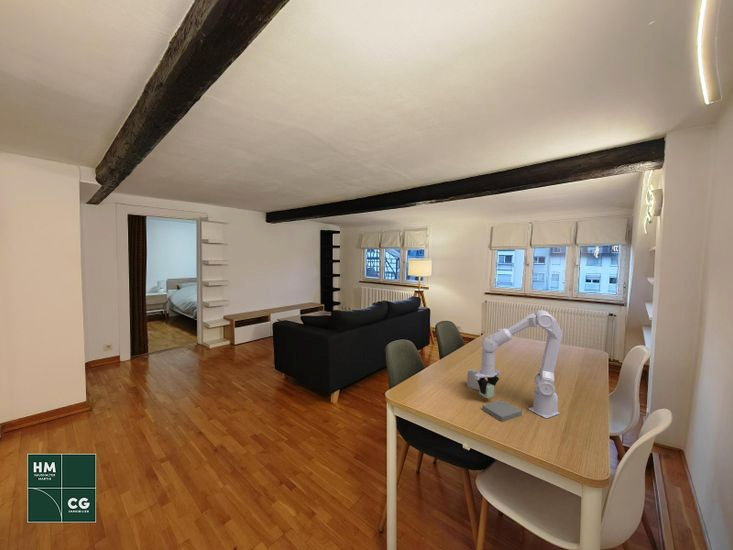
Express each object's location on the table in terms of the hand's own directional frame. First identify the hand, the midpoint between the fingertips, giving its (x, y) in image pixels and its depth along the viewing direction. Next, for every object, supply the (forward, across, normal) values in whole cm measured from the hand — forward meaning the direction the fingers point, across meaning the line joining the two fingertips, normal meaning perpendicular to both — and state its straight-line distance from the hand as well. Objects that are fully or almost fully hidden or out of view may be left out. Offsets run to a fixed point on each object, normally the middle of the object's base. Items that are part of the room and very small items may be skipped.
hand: (486, 392), depth 132 cm
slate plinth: (+4, +2, +10) cm, 11 cm away
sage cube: (+1, 0, 0) cm, 1 cm away
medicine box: (+4, -6, -12) cm, 14 cm away
